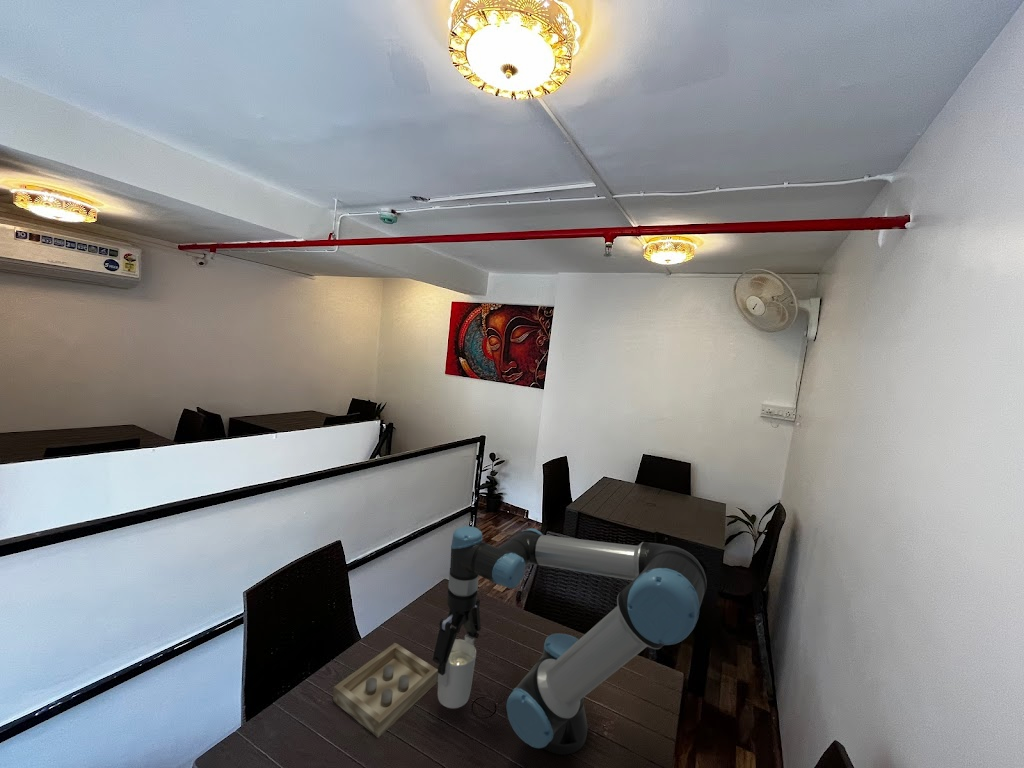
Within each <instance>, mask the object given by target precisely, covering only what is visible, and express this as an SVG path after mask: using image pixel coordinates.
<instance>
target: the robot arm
mask: <svg viewBox="0 0 1024 768" xmlns="http://www.w3.org/2000/svg"><path fill="white" fill-rule="evenodd" d="M483 540H484V539H483V532H482V531H481V530H480V529H479V528H478V527H475V526H467V525H465V526H460V527H458V528H457V529H455V530H454V531H453V534H452V540H451V545H450V567H449V575H448V587H447V588H448V589H447V597H446V598H447V599H446V603H447V606H448V608H449V611H448V615H447V618H446V619H443V618H441V619H440V621H439V631H438V635H437V638H436V644H435V647H434V651H433V656H432V662H434V663H435V664H437V665H438V666H437V669H438V676H437V684H438V683H440V684H441V685H443V686H444V687H447V686H448V678H449V667H450V660H448V658H449V655H450V652H451V650H452V647H453V644H454V641H455V639H457V638H456V637H457V634H459V633H460V631H461V628H462V626H463V625H464V628H465V631H466V634H465V635H464V639H463V640H465V641H467V642H469V643H471V644H473V645H474V646H475V641H476V640H475V638H476V639H478V638H479V636H480V634H479V632H480V631H481V628H482V625H481V615H480V603H481V600H480V599H479V598H478V589H479V588H478V587H479V579H480V578H479V577H482V578H484V579H486V580H489V581H490V582H492V583H494V584H496V586H497V585H498V586H501V587H506V588H508V589H514V588H516V587H518V586H519V585H520V583H521V581H522V580H523V578H524V576H525V572H526V566H527V565H536V566H544V567H550V568H557V569H561V570H568V571H574V572H580V573H585V574H592V575H597V576H603V577H610V578H615V579H621V580H628V581H630V582H629V583H628V585H626V586H625V587H624V588H622V590H621V591H619V593H618V595H617V597H616V603H617V604H616V605H617V606H615V607H614V608H613V609H612V610H611V611H610V612H609V613H608V614H606V615H605V616H604V617H603V618H602V619H600V620H599V621H598V622H597V623H596V624H595V625H594V626H592V628H591V629H590V630H588V631H587V632H586V633H584V634H583V635H582V637H580V638H577V637H575V636H573V635H570V634H567V633H560V632H558V633H552V634H549V635H548V636H547V637H546V639H545V641H544V644H543V652H542V656H540V658H539V659H538V660H537V662H536V663H535V664H534V665H533V666H532V667H531V669H529V671H528V672H527V673H526V675H525V676H524V677H523V678H522V680H521V681H520V682H519V683H518V684H517V685H516V687H515V688H513V689H512V691H511V693H510V695H509V696H508V698H507V700H506V706H505V707H506V714H507V718H508V721H509V724H510V726H511V728H512V729H513V731H514V733H515V734H516V735H517V737H518V738H519V739H520V740H522V741H523V742H524V743H525V744H527V745H529V746H530V747H532V748H534V749H544V750H546V751H547V752H549V753H552V754H554V755H555V754H556V755H563V756H564V755H565V756H567V755H571V754H574V753H577V752H578V751H579V750H581V749H582V748H583V746H584V745H585V743H586V740H587V734H588V719H587V715H586V710H585V709H586V708H585V705H584V703H585V698H586V696H588V694H589V693H590V692H592V691H593V690H595V689H596V688H597V687H598V686H600V685H601V684H602V683H604V682H605V681H606V680H607V679H608V678H609V677H611V676H612V675H614V674H615V673H616V672H618V671H619V670H620V669H621V668H623V667H624V666H625V665H627V664H628V662H630V661H631V660H632V659H633V658H635V657H636V656H637V655H639V654H640V653H641V652H643V651H644V650H645V649H646V648H650V649H652V650H660V649H662V648H663V647H664V646H671V645H672V646H673V645H676V644H678V643H679V644H680V642H683V641H685V639H687V637H689V635H690V634H691V633H692V632H693V630H694V629H695V628H696V625H697V622H698V620H699V617H700V616H699V615H700V609H701V605H702V603H703V601H704V600H703V599H704V597H705V594H706V591H707V576H706V573H705V569H704V568H703V566H702V565H701V563H700V562H699V560H698V559H697V558H696V557H695V556H694V555H693V554H691V553H690V552H689V551H687V550H685V549H683V548H681V547H678V546H676V545H670V544H664V543H657V542H650V541H649V542H647V541H642V542H641V543H639V544H637V545H633V544H625V543H623V544H622V543H615V542H608V541H607V542H605V541H597V540H589V539H579V538H573V537H564V536H555V535H554V536H553V535H548V534H547V535H545V534H543V533H542V532H541V531H539V530H538V529H537V528H531V527H530V528H527V529H524V530H523V531H520V532H519V533H517V534H516V535H515V536H513V537H512V538H511V539H509V540H507V541H506V542H504V543H502V544H501V545H499V546H494V545H493V544H491V543H488V542H486V541H483Z"/></svg>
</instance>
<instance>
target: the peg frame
mask: <svg viewBox="0 0 1024 768" xmlns="http://www.w3.org/2000/svg"><path fill="white" fill-rule="evenodd" d="M437 684H438V668H436V667H435V666H433V665H431V664H430V663H429V662H427V661H425V660H423V659H422V658H420V657H419V656H417V655H416V654H415V653H412V652H411V651H409V650H407V649H406V648H405V647H403V646H402V645H400V644H398V643H396V642H393V644H391V645H390V646H388V647H387V648H386V649H384V650H382V651H381V652H380V653H379V654H377V655H376V656H374V657H373V658H372V659H370V660H369V661H367V662H366V663H365V664H363V665H362V666H361V667H359V668H358V669H357V670H355V671H354V672H352V673H350V675H348V676H347V677H345V678H344V679H342V681H340V682H338V683H337V684H336V685H334V686H333V695H332V702H333V703H335V704H336V705H337V706H338V707H339V708H341V709H342V710H343V711H345V713H347V714H348V715H349V716H350V717H352V718H353V719H354V720H355V721H357V723H359V724H360V725H362V727H364V728H365V729H366V730H368V731H369V732H370V733H371V734H372V735H373V736H375V737H376V738H377V739H379V738H380V737H381V736H382V735H383V734H384V733H385V732H387V730H388V729H389V728H391V727H392V726H393V725H394V724H395V723H396V722H397V721H398V720H399V719H400V718H401V717H403V715H404V714H405V713H407V712H408V711H409V710H410V709H411V708H412V707H413V706H414V705H415V704H416V703H417V702H419V701H420V699H422V698H423V697H424V696H425V695H426V694H427V693H428V691H430V690H431V689H432V688H434V687H435V685H437Z"/></svg>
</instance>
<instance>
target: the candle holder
mask: <svg viewBox="0 0 1024 768" xmlns="http://www.w3.org/2000/svg"><path fill="white" fill-rule="evenodd" d="M476 657H477V648H476V647H475V644H474V645H473V644H471V643H469V642H467V641H465V640H464V639H461V638H460V639H459V638H455V641H454V644H453V647H452V650H451V652H450V655H449V658H448V660H450V667H449V678H448V686H447V687H444V686H443V685H441V684H440V683H438V682H437V699H438V702H439V703H440V705H442V706H444V707H446V708H448V709H459V708H461V707H463V706H465V705H466V704H467V703H468V701H469V699H470V697H471V696H470V695H471V690H472V684H473V676H474V670H475V663H476Z"/></svg>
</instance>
